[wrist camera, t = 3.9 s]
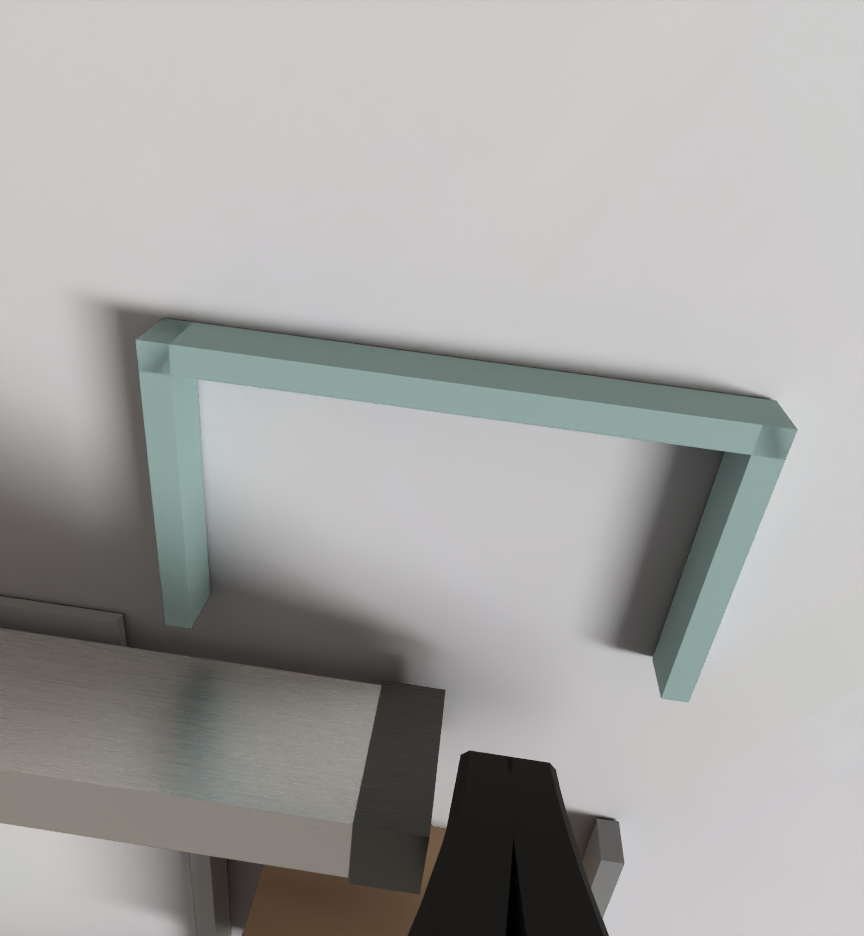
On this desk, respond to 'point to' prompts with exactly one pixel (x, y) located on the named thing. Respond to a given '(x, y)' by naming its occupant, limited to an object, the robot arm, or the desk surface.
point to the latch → (219, 758)
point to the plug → (333, 903)
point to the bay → (469, 394)
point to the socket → (211, 871)
